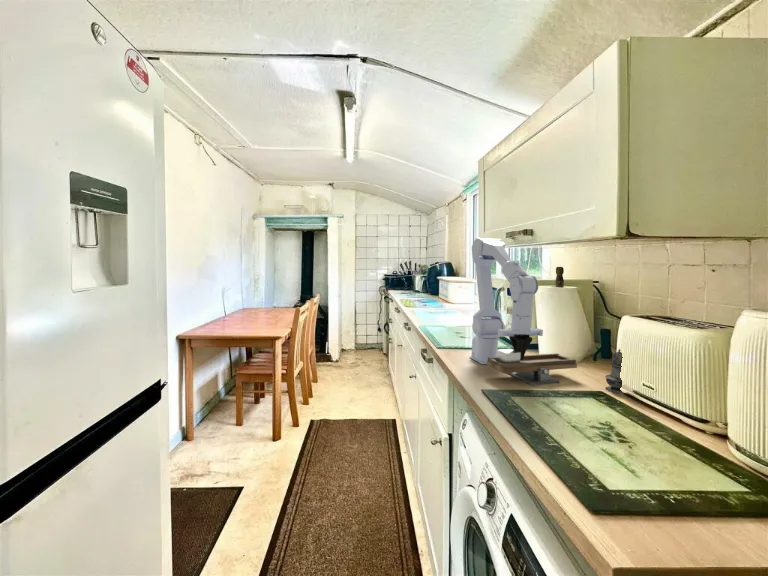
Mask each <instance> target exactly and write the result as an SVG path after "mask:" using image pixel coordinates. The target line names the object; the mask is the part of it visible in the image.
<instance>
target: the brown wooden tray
mask: <svg viewBox="0 0 768 576" xmlns="http://www.w3.org/2000/svg"><path fill="white" fill-rule="evenodd" d="M486 365H487V366H489V367H491V368H492V369H495V370H496V371H498V372H501V373H503V374H508V373H514V372H528V371H539V368H549V369H550V370H549V371H552V370H553V371H554V370H566V369H567V370H568V369H577V368H578V364H577V360H576V359H575V358H570V357H567V356H564V355H562V354H559V353H541V354H540V353H539V354H538V353H537V354H528V355H527V354H525V355H524V358H523V360H520V363H504V364H502V363H500V362H498V361H496V357H488V361H487V364H486Z"/></svg>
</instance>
